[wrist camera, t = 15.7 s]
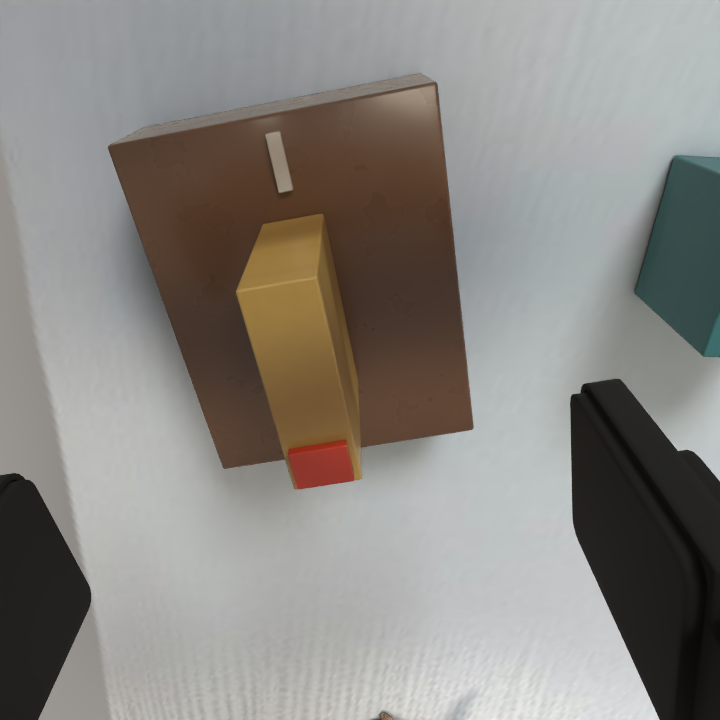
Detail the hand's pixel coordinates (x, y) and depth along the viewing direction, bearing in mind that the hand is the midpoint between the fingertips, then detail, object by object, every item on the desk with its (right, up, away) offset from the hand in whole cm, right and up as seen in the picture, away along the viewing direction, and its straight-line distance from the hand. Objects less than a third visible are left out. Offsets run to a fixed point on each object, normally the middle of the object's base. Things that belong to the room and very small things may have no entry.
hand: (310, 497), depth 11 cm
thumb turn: (0, +4, +6) cm, 7 cm away
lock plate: (0, +5, +9) cm, 10 cm away
